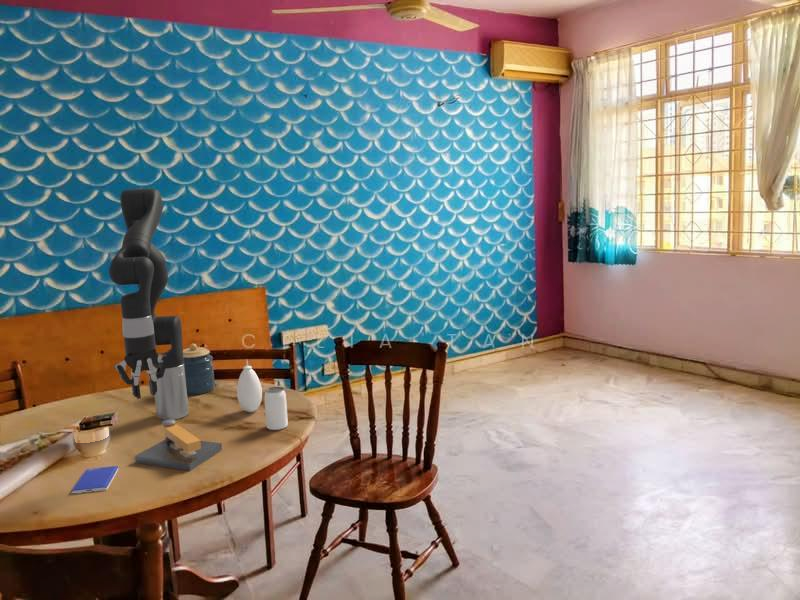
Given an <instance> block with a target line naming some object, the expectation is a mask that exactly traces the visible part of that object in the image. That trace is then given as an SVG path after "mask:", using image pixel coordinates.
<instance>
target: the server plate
mask: <svg viewBox="0 0 800 600" xmlns="http://www.w3.org/2000/svg"><path fill="white" fill-rule="evenodd" d="M200 442H201V449H199V450H195V451H192V452H189V453H188V452H187V451H185V450H184V449H183V448H181V447H180V446H179V445H177V444H176V443H175V442H173V441H166V438H165V439H163V440H161V441H159V442H158V443H156V444H154V445H152V446H151V447H149V448H147V449H146V450H143V451H142V452H140V453H137V454H136V455H135V456H134V458H135V463H136V464H141V465H147V466H148V465H149V466H155V467H160V468H161V467H162V468H168V469H169V468H170V469H175V470H184V471H190V472H191V471H192V470H194V469H195V468H197V467H198V466H199V465H201V464H203V463H204V462H206V461H208V460H209V459H211V458H212V457H213V456H215V455H217V454H218V453H220V452H221V451H223V447H222V443H221V442H213V441H207V440H206V441H205V440H200Z"/></svg>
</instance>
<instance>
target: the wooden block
mask: <svg viewBox="0 0 800 600" xmlns="http://www.w3.org/2000/svg"><path fill="white" fill-rule="evenodd" d="M161 425H162V426H163V430H164V436H165V439H166V441H173V442H175V443H176V444H177V445H179V446H180V447H181V448H183V449H184V450H185V451H187V452H188V453H189V452H192V451H195V450H199V449H201V442H200V441H201V439H199V438H198V437H196V436H195V435H193V434H192V433H191V432H189V431H188V430H186V429H184V428H183V426H180V425H179V424H178V423H176V419H170V420H163V421H161Z"/></svg>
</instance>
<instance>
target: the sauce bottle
mask: <svg viewBox="0 0 800 600" xmlns="http://www.w3.org/2000/svg"><path fill="white" fill-rule="evenodd" d="M245 363H246V365H245V366H243V368H242V371H241V373H240V375H239V377H238V381H237V387H236V394H237V395H236V397H237V402H238V403H239V404H238V405H239V406H240V407H241V409H242V410H245V412H248V413H254V412H255V411H257V409H258V408H259V407H260V405H261V403H262V399H263V389H262V383H261V381H260V379H259V377H258V375H257V373H256V371H255V370H254V369H252V366H251V365H249V362H248V359H246V362H245Z"/></svg>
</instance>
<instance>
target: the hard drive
mask: <svg viewBox="0 0 800 600" xmlns="http://www.w3.org/2000/svg"><path fill="white" fill-rule="evenodd" d="M118 471H119V466H118V465H113V466H104V467H96V468H95V467H92V468H87V469H85V471H84V472H83V473H82V475H81V477H80V478H79V480H78V481H77V483H76V484H75V485H74V487H73V488H72V490H71V494H72V493H77V494H83V493H82V492H86V493H93V492H92V491H94V492H100V491H101V492H102V491H107V490H108V489H109V487H110V485H111V484H112V482H113V481H114V478H115V477H116V475H117V472H118Z"/></svg>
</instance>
